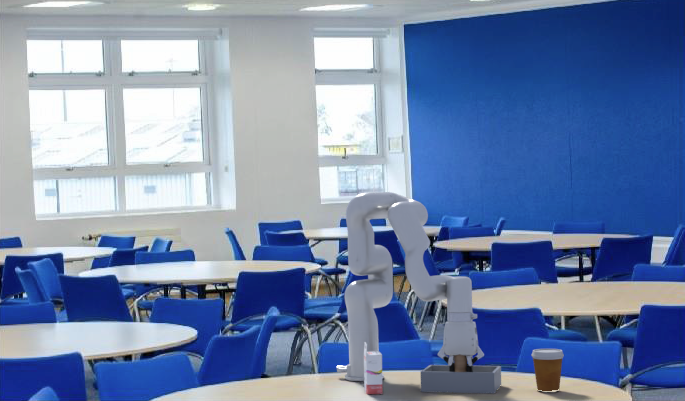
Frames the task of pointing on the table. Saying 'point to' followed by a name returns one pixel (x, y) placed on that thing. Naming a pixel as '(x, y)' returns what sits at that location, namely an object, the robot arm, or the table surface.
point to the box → (461, 379)
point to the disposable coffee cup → (547, 368)
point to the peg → (460, 363)
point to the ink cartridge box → (372, 372)
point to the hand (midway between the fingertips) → (461, 377)
